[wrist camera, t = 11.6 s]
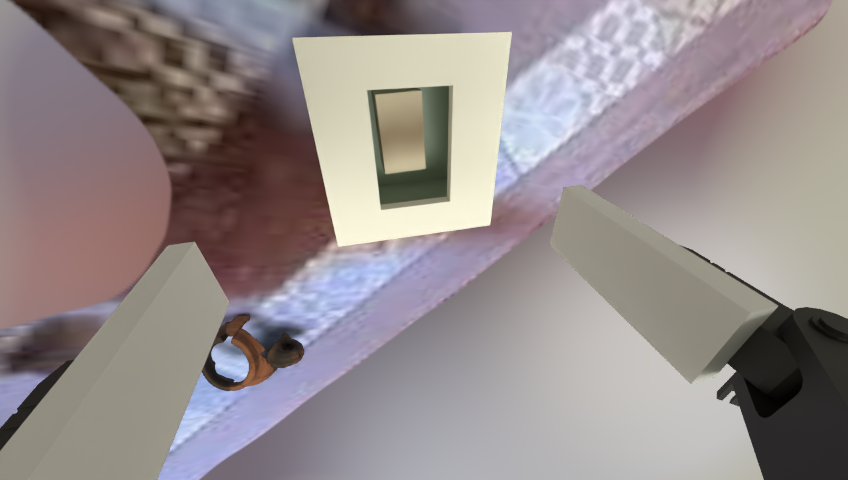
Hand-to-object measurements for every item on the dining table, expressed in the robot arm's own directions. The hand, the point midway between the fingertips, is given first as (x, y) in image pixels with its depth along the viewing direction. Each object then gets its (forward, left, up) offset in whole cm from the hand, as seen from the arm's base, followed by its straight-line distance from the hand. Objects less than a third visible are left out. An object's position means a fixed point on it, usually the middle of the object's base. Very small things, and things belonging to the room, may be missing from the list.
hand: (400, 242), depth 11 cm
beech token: (+1, +3, -23) cm, 23 cm away
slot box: (+1, +3, -23) cm, 23 cm away
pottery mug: (+28, -18, -24) cm, 41 cm away
